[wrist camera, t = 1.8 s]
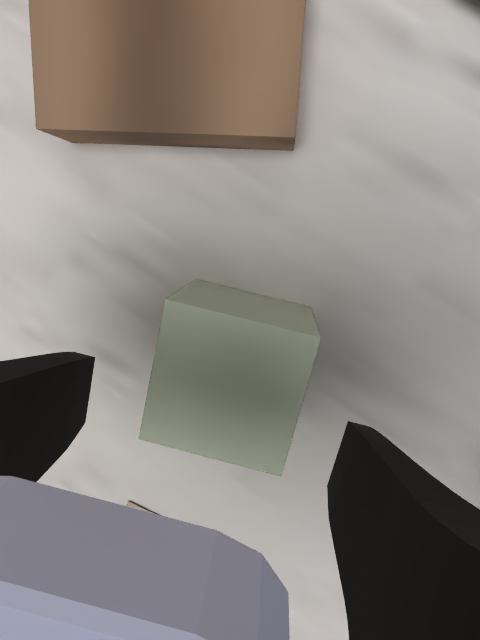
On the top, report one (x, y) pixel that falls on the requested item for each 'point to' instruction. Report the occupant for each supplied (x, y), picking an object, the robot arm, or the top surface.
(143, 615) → the robot arm
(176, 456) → the top surface
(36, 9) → the walnut block
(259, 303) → the sage cube
